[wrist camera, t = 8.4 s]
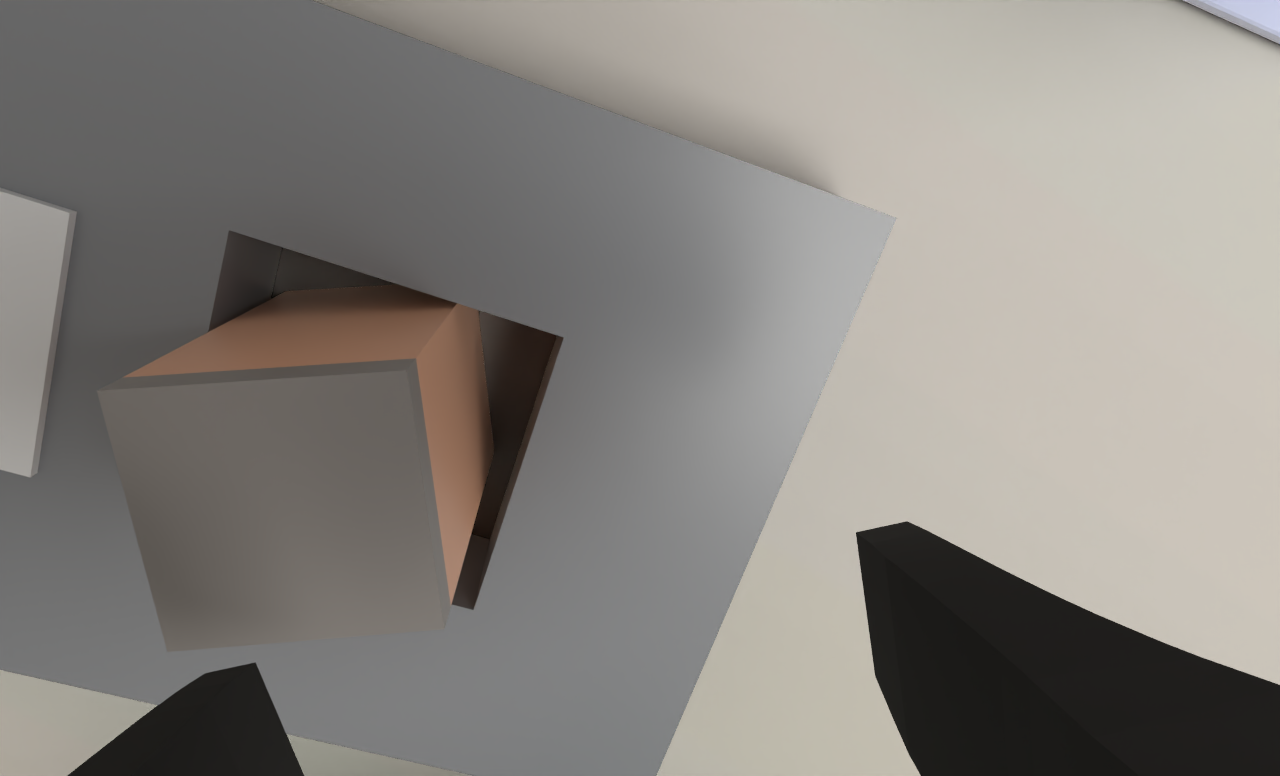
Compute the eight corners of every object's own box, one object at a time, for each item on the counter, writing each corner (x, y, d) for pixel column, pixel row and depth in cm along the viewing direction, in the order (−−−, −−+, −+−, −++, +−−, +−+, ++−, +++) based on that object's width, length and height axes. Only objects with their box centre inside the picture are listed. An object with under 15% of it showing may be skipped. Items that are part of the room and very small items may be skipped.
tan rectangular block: (286, 291, 17) (96, 391, 10) (474, 279, 17) (407, 370, 11) (318, 464, 18) (167, 652, 12) (494, 451, 18) (444, 629, 12)
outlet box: (61, -87, 15) (-75, -145, 12) (845, 204, 17) (900, 218, 14) (-25, 560, 18) (-145, 645, 15) (632, 720, 21) (640, 820, 18)
